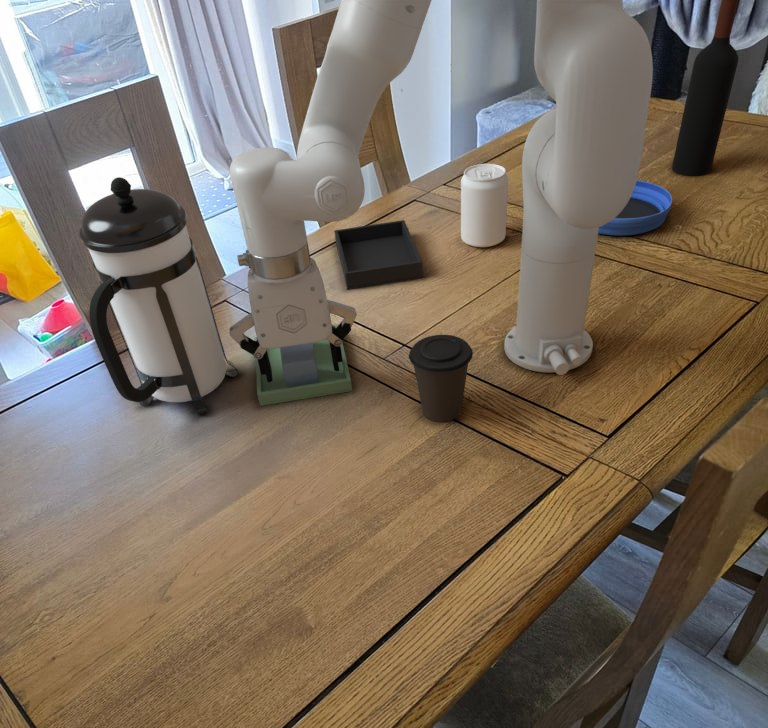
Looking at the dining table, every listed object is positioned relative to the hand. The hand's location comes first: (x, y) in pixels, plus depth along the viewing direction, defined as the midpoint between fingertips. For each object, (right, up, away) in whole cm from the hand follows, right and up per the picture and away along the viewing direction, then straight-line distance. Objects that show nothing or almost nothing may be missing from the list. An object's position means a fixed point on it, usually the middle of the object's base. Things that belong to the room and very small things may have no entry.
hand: (303, 371), depth 100 cm
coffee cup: (+20, -7, -6) cm, 21 cm away
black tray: (+10, +25, +25) cm, 37 cm away
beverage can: (+30, +30, +28) cm, 51 cm away
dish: (-1, +1, +4) cm, 4 cm away
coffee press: (-17, -3, +2) cm, 17 cm away
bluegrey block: (0, -1, +1) cm, 1 cm away
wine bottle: (+74, +50, +42) cm, 99 cm away
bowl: (+55, +35, +30) cm, 72 cm away
